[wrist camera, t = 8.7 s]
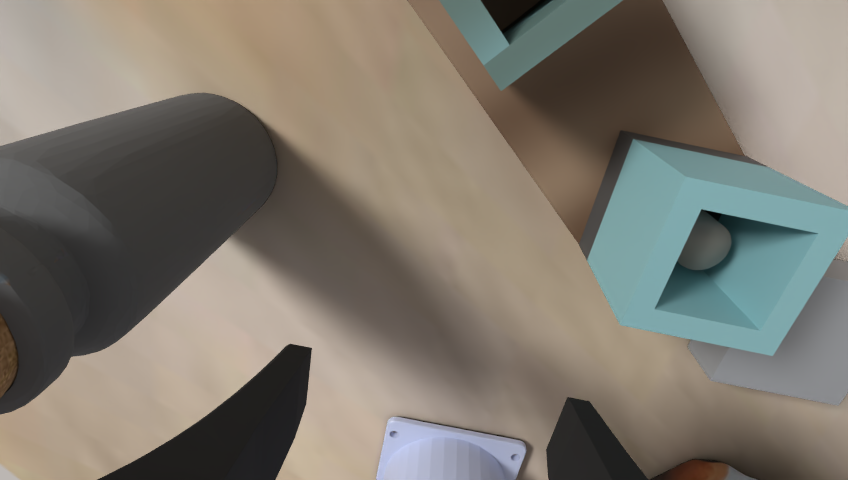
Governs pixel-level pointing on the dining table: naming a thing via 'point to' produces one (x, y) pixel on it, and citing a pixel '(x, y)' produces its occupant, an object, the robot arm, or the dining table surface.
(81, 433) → the dining table surface
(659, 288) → the sleeve
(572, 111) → the peg board
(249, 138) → the bottle
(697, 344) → the block
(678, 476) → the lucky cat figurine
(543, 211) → the dining table surface
